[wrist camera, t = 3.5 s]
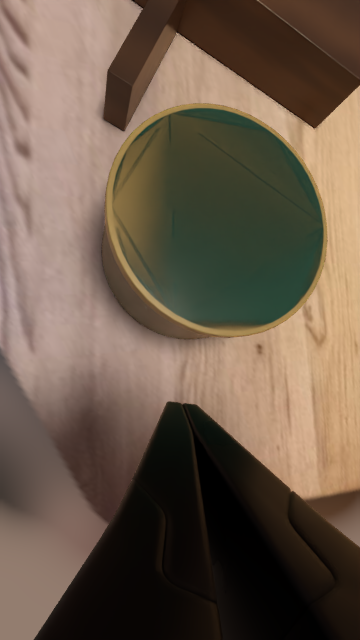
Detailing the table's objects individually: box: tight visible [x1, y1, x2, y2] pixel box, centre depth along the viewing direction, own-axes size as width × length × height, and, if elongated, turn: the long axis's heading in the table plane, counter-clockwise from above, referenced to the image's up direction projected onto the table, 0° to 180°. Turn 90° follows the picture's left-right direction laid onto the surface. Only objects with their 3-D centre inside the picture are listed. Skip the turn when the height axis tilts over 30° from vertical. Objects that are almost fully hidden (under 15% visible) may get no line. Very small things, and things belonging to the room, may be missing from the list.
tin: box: [102, 103, 327, 339], centre depth 20 cm, size 12×12×7 cm
